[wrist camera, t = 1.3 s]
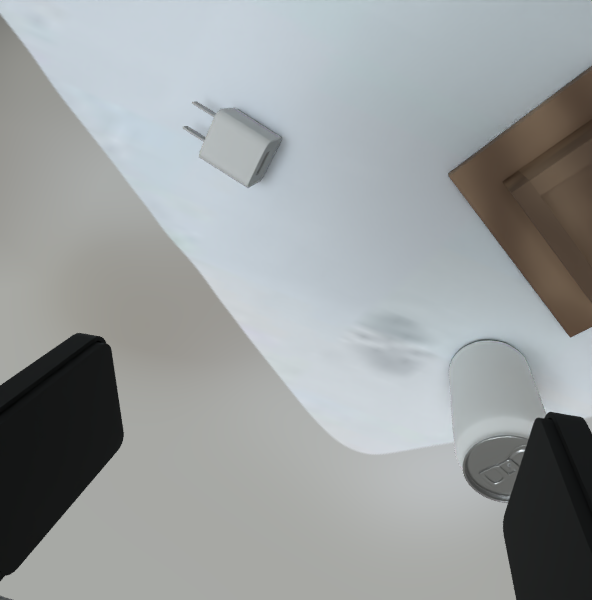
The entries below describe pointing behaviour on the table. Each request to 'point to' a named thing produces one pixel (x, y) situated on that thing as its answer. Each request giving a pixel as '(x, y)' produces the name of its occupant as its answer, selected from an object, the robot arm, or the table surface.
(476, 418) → the can
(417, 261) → the table surface
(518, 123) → the holder
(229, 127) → the usb wall charger
